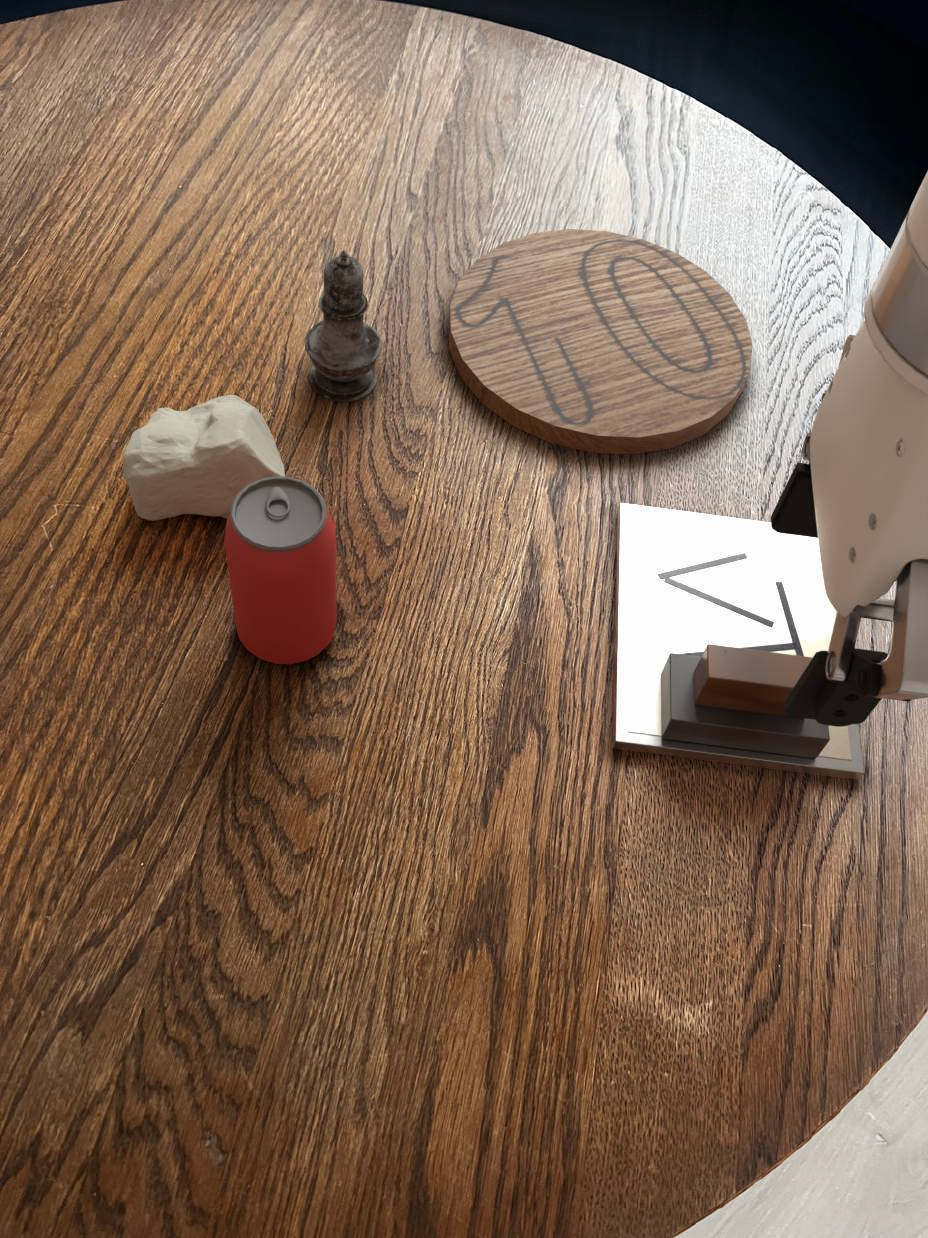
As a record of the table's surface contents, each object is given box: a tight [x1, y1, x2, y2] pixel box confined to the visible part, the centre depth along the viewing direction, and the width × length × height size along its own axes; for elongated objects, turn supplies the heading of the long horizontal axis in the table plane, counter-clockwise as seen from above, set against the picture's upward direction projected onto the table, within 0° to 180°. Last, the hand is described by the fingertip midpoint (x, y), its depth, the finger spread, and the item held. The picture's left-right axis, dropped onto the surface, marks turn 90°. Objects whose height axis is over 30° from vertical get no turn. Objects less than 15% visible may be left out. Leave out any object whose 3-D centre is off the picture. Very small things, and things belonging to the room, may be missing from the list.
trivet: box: [447, 228, 753, 455], centre depth 93 cm, size 25×25×2 cm
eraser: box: [661, 644, 830, 758], centre depth 71 cm, size 10×5×6 cm, turn 84°
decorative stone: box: [122, 394, 286, 521], centre depth 79 cm, size 11×9×10 cm
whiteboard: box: [611, 502, 865, 781], centre depth 78 cm, size 20×16×1 cm
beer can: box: [223, 476, 337, 665], centre depth 70 cm, size 7×7×12 cm
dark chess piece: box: [304, 250, 383, 403], centre depth 84 cm, size 6×6×12 cm
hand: (812, 617), depth 49 cm, fingers open, 9 cm apart
